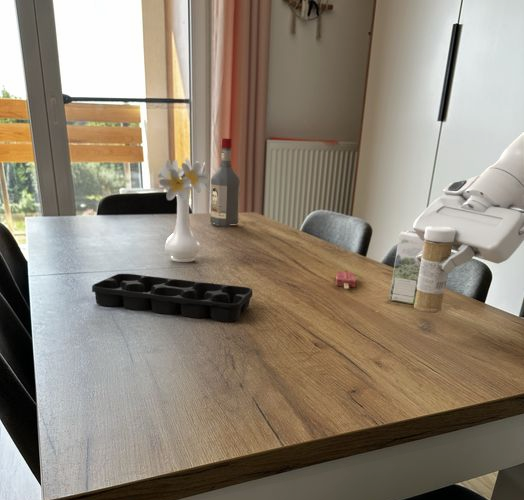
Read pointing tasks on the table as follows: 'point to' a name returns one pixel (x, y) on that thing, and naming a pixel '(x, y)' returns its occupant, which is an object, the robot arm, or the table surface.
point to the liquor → (225, 190)
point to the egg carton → (173, 296)
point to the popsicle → (345, 279)
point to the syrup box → (406, 268)
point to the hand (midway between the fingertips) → (430, 265)
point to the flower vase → (183, 206)
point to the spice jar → (433, 268)
